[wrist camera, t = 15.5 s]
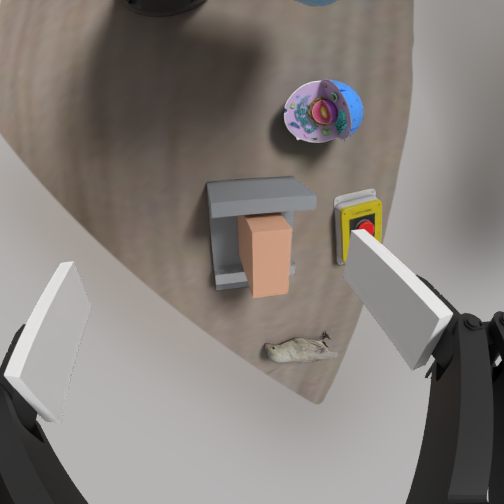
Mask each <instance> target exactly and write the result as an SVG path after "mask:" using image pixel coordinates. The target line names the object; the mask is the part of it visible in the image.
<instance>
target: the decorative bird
mask: <svg viewBox="0 0 504 504" xmlns="http://www.w3.org/2000/svg"><path fill="white" fill-rule="evenodd" d="M323 334H324V333H323ZM324 335H325V336H323V339H322V340H319V341H316V340H310V339H306V338H294V339H292V340H289V341H287V342H285V343H283V344H281V345H272V344H267V343H265V350H266V354H267V356H268V357H269V358H270V359H271V360H272V361H274V362H276V363H286V362H300V363H302V362H315V361H318V360H328V359H335V358H337V357H338V355H337V353H336V352H329V351H328V349H327V348H326V347H328V346H326V343H325V342H324V341H323V340H324V338H326V337H327V338H329V336H328V335H327V334H326V332H325V334H324ZM329 339H330V338H329ZM331 340H332V339H331ZM325 346H326V347H325Z"/></svg>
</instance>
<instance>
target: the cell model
mask: <svg viewBox="0 0 504 504" xmlns="http://www.w3.org/2000/svg"><path fill="white" fill-rule="evenodd" d="M284 108H285V111H284V121H285V125H286V127H287V128H288V130H289V131H290V132H291V133H292V134H293V135H294V136H295V137H296V139H297V140H299V139H301V140H304V141H307V142H313V143H321V142H327V141H330V140H333V139H335V138H337V137H338V138H340V139H342V140H343V141H345V140H346V139H348V138H349V137H350V136H351V135H353V134H354V133H355V132H356V130H357V129H358V128H359V127H360V125H361V123H362V120H363V114H364V109H363V104H362V101H361V99H360V97H359V95H358V94H357V93H356V91H355V90H354V89H353V88H351V87H350V86H349V85H347V84H345V83H342V82H339V81H336V80H331V79H323V80H321V81H313V82H310V83H307V84H305V85H303V86H301V87H299V88H298V89H297V90H296V91H295V92H294V93H293V94H292V95H291V96H290V97H289V99H288V100H287V102H286V104H285V107H284Z"/></svg>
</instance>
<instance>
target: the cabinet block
mask: <svg viewBox="0 0 504 504" xmlns="http://www.w3.org/2000/svg"><path fill="white" fill-rule="evenodd" d="M238 240H239V256H240V259H241V262H242V265H243V269H244V272H245V275H246V278H247V281H248V284H249V287H250V290H251V293H252V296H253V298H258V297H265V296H272V295H279V294H285V293H288V286H289V272H290V256H291V240H292V228H291V227H290V225H289V224H288V223H287V221H286V220H285V219H284V217H283V216H282V215H281V214H280V212H272V213H261V214H249V215H238Z"/></svg>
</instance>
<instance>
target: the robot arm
mask: <svg viewBox="0 0 504 504" xmlns="http://www.w3.org/2000/svg"><path fill="white" fill-rule="evenodd" d="M122 1H123V2H124V3H125V5H126V6H127V7H128V8H130V9H131V10H133V11H134V12H137V13H139V14H142V15H146V16H154V17H162V16H171V15H175V14H179V13H182V12H185V11H188V10H190V9H192V8H194V7H196V6H197V5H199V4H200V3H202V2H203V1H204V0H122ZM294 1H297V2H300V3H303V4H305V5H308V6H325V5H328V4H331V3H334V2H336V1H338V0H294ZM343 278H344V279H345V280H346V281H347V283H348V284H349V285H350V287H351V288H352V289H353V290H354V292H355V293H356V294H357V296H358V297H359V298H360V300H361V301H362V302H363V304H364V305H365V306H366V308H367V309H368V310H369V312H370V313H371V314H372V316H373V317H374V318H375V319H376V321H377V322H378V323H379V325H380V326H381V328H382V329H383V330H384V332H385V333H386V334H387V336H388V337H389V339H390V340H391V341H392V343H393V344H394V346H395V347H396V349H397V350H398V351H399V353H400V354H401V355H402V357H403V358H404V360H405V361H406V363H407V364H408V365H409V367H410V369H411V370H415V369H417V368H419V367H421V366H423V365H425V364H426V363H427V361H428V359H429V358H430V356H431V354H432V355H433V357H434V358H435V361H434V362H433V364H432V366H431V367H430V369H429V370H428V372H427V373H426V376H425V378H428V376H429V375H430V373H431V372H432V377H431V387H430V397H429V405H428V412H427V418H426V425H425V430H424V436H423V441H422V446H421V450H420V455H419V459H418V463H417V467H416V471H415V475H414V478H413V482H412V485H411V489H410V492H409V495H408V498H407V501H406V504H504V312H500V311H499V312H496V313H495V314H494V316H493V318H492V320H491V321H490V322H482V321H481V320H480V319H479V318H477V317H476V316H474V315H472V314H468V313H464V314H460V313H459V312H458V311H457V310H456V309H455V308H454V307H453V306H452V305H451V304H450V303H449V302H448V301H447V300H446V299H445V298H444V297H443V296H442V295H440V293H439V292H438V291H437V290H436V289H434V287H433V286H432V285H431V284H430V283H429V282H428V281H427V280H425V279H423V278H422V277H420V276H418V275H414V273H412V272H411V271H410V270H409V269H408V268H407V267H406V266H405V265H404V264H403V263H402V262H401V261H400V260H399V259H397V258H396V257H395V256H394V255H393V254H392V253H391V252H389V250H388V249H386V248H385V247H384V246H383V245H382V244H381V243H380V242H378V241H377V240H376V239H375V238H374V237H373V236H372V235H370V234H369V233H368V232H367V231H366V230H365V229H360V230H351V235H350V242H349V248H348V254H347V259H346V265H345V271H344V276H343ZM91 309H92V307H91V305H90V302H89V300H88V297H87V295H86V292H85V290H84V287H83V284H82V282H81V279H80V276H79V274H78V271H77V268H76V265H75V262H74V261H71V262H63V263H61V264H60V265H59V267H58V268H57V270H56V271H55V273H54V275H53V276H52V279H51V280H50V281H49V283H48V285H47V286H46V288H45V290H44V292H43V293H42V295H41V297H40V299H39V301H38V302H37V304H36V306H35V308H34V310H33V312H32V314H31V316H30V318H29V320H28V322H27V324H24V325H22V327H21V328H20V329H19V330H18V331H17V332H16V334H15V336H14V338H13V340H12V342H11V343H12V344H11V345H10V347H9V349H8V352H7V353H6V356H5V358H4V360H3V363H2V365H1V367H0V504H88V503H87V501H86V500H85V499H84V497H83V496H82V494H81V493H80V492H79V490H78V489H77V488H76V486H75V484H74V483H73V482H72V480H71V478H70V477H69V475H68V474H67V472H66V471H65V469H64V467H63V466H62V464H61V463H60V461H59V459H58V457H57V456H56V454H55V452H54V451H53V449H52V447H51V445H50V443H49V441H48V439H47V438H46V436H45V434H44V432H43V430H42V428H41V426H40V424H39V423H38V422H37V421H36V417H37V413H38V414H39V415H40V416H41V417H42V418H43V419H44V420H45V421H48V422H54V423H61V422H62V417H63V412H64V406H65V402H66V397H67V392H68V388H69V384H70V379H71V376H72V372H73V368H74V364H75V360H76V357H77V353H78V350H79V346H80V343H81V340H82V336H83V333H84V330H85V327H86V324H87V321H88V318H89V315H90V312H91ZM499 355H500V356H501V359H502V361H501V362H500V364H499V365H498V366H496V364H495V361H496V359H497V358H498V357H499ZM487 490H489V491H488V496H489V502H487V499H486V498H487Z"/></svg>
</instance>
